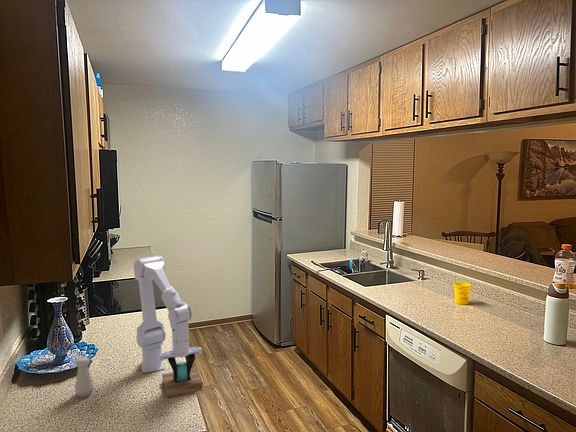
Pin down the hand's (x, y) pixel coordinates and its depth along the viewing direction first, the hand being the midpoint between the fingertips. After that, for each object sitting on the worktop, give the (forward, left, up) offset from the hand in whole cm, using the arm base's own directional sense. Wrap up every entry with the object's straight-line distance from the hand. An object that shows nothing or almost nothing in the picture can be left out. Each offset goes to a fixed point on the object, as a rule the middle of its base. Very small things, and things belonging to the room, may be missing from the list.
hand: (181, 375), depth 158 cm
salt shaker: (-8, -32, -4) cm, 33 cm away
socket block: (0, 0, -4) cm, 4 cm away
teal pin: (0, 0, -2) cm, 2 cm away
